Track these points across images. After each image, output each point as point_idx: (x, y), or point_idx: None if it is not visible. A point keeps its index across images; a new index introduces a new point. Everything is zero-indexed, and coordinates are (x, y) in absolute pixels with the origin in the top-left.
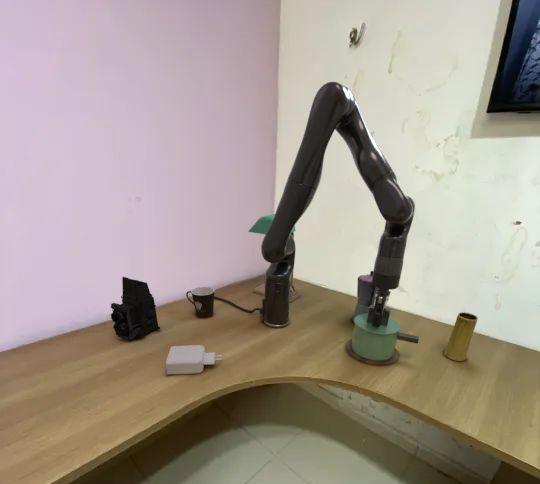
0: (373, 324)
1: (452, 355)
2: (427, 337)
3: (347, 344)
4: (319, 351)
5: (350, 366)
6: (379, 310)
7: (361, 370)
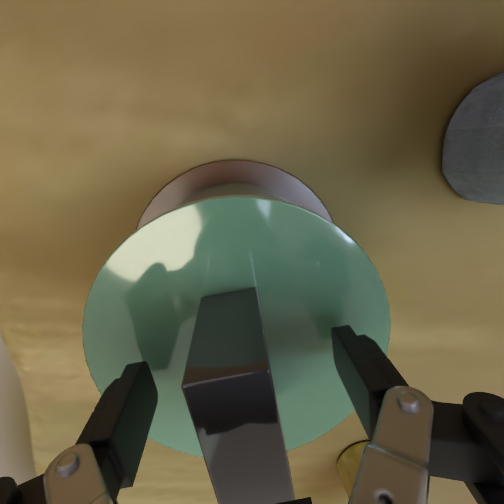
0: (109, 386)
1: (345, 472)
2: (454, 386)
3: (210, 165)
4: (69, 64)
5: (73, 238)
6: (206, 456)
7: (81, 280)
